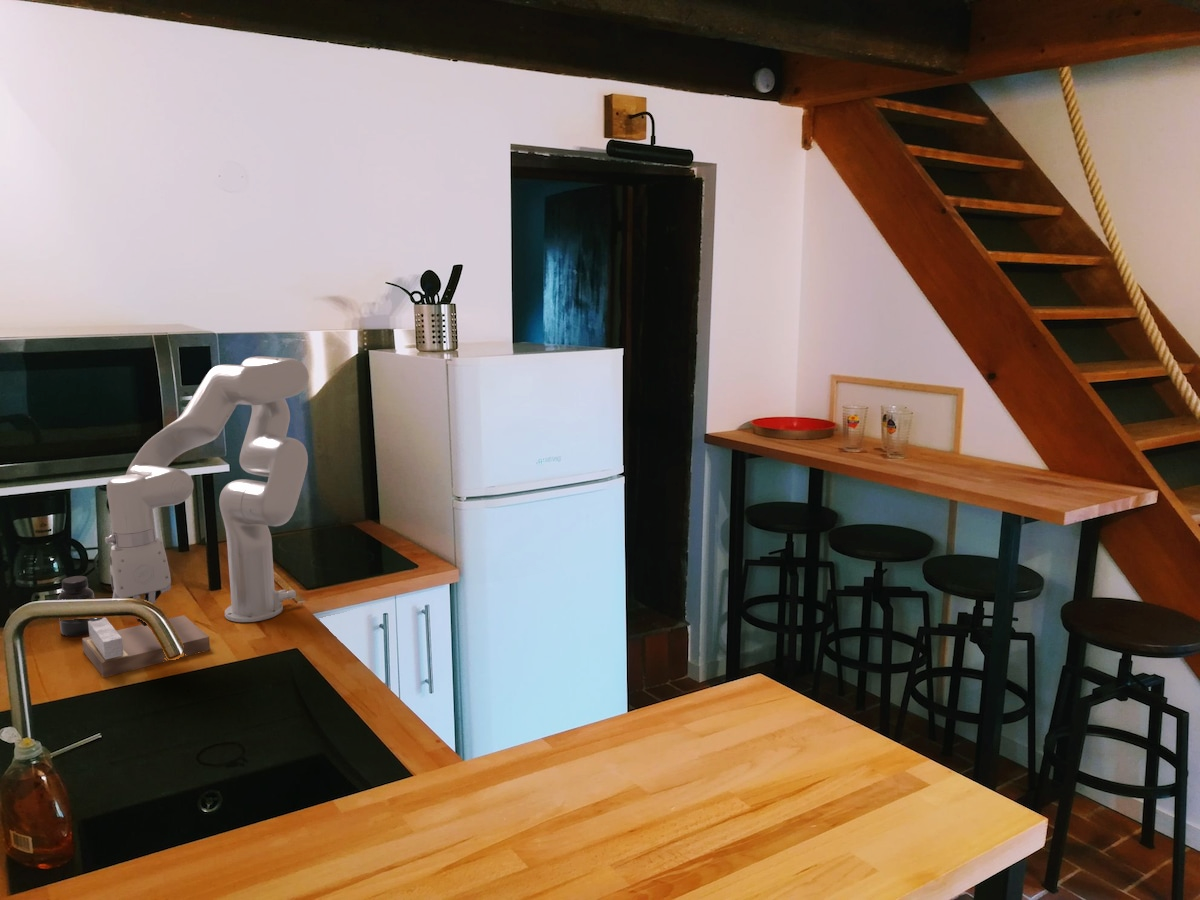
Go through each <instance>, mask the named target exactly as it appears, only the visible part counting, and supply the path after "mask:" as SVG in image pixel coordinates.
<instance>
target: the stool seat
mask: <svg viewBox="0 0 1200 900" xmlns="http://www.w3.org/2000/svg"><path fill="white" fill-rule="evenodd" d="M168 619H169V621H170V623H171V624H172V626H173V628H174V629H175V631H176V632H177V634H178V636H179V637H180V639H181V641H182V643H183V645H184V656H185V654H186V655H189V656H193V655H196V654H195V653H197V654H199V653H198V652H201V653H204V652H203V651H205V652H209V651H211V643H210V636H209V635H208V634H207V633H206V632H205V631H203V630H202V629H201V628H200V627H198V626H197V625H196V624H195V623H194V622H193V621H191V619H189V618H188V617H187V616H186V615H185V614H182V615H178V616H174V617H170V618H168ZM116 631H117V633H118V634H119V635H120V636H121V638H122V644H123V654H124V655H123V656H119V657H115V658H111V659H106V660H105V659H104V657H103V656H102V654H101V653H100V652H99V650H98V649H97V647H96V646H95V645H94V643H93V642H92V640H91V639H90V637H89V636H86V637H82V638H81V640H82V651H83V653H84V654H85V656H86V657H87V658H88V660H89V661H90V662H91V664H92V665H93V666H94V667H95V669H96V670H97V672H99V674H100V675H101V677H103V678H108V677H111V676H114V675H115V676H116V675H119V674H123V673H127V672H130V671H134V670H135V671H136V670H138V669H142V668H146V667H150V666H153V665H157V664H158V665H159V664H162V663H166V662H169V661H171V660H168V659H167V658H166V656H165V654H164V652H163V649H162V647H161V646H160V644H159V642H158V640H157V639H156V637H155V635H154V634H153V632H152V630H151V629H150V628H149V627H148V626H143V625H142V624H139V625H136V626H135V625H134V626H130V627H126V628H122V629H118V630H116ZM208 650H209V651H208ZM192 654H193V655H192ZM185 657H186V656H185ZM164 658H166V659H167V660H168V661H166V660H165V659H164ZM163 661H164V662H163Z"/></svg>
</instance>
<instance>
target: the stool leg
mask: <svg viewBox="0 0 1200 900" xmlns="http://www.w3.org/2000/svg"><path fill="white" fill-rule="evenodd" d="M89 620H90V621H88V627H89V634H88V635H89V636H88V637H90V639H91V640H92V642H93V643H94V645H95V646H96V647H97V649H98V650H99V652H100V653H101V654H102V656H103V657H104V659H105V660H106V659H111V658H115V657H119V656H123V655H124V654H123V644H122V638H121V636H120V635H119V634H118V633H117V630H116V629H115V627H114V626H113V625H112V623H110V621H109V620H108V618H107V617H103V618H90V619H89Z"/></svg>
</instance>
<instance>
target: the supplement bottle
mask: <svg viewBox="0 0 1200 900" xmlns="http://www.w3.org/2000/svg"><path fill="white" fill-rule="evenodd" d="M88 581H89V580H88V577H87V576H85V575H84V576H83V575H75V576H68V577H66V578H63V579H62V581H61V589H62V591H61V592H60V593H59V595H57V600H58V599H86V598H94V599H95V593H94V591H93V590H92V589H91V588H89V583H88ZM88 621H90V620H89V619H74V620H61V621H60V620H59V626H60V627H59V628H60V633H61V634H62V635H63V636H64V635H65V637H70V636H74V637H81V636H80V635H82V636H85V634H86V635H89V634H88V633H89V627H88Z"/></svg>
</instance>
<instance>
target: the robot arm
mask: <svg viewBox="0 0 1200 900" xmlns="http://www.w3.org/2000/svg"><path fill="white" fill-rule="evenodd" d="M309 377H310V376H309V371H308V369H307V366H305V364H304V363H303V362H301V360H299V359H296V358H292V357H280V356H279V357H278V356H263V355H260V356H259V355H256V356H249V357H247V358H245V359H244V360H243V361H242V362H241V364H230V363H228V364H225V363H224V364H218V365H215V366H213V367H212V368H211V369H209V371H208V372H207V374H205V376H204V377H203V379H202V380H201V383H200V384H199V386H198V387H197V388H196V390H195V392H194V394H193V395H192V397H191V398H190V400H189V402H188V403H187V404H186V406H185V408H184V410H183V411H182V412H181V414H180V415H179V416H178V417H177V419H176V420H174V421H172V422H171V423H169V424H167V425H166V426H165V427H164V428H162V429H161V430H159V432H157V433H156V434H154V435H153V436H151V438H149V439H148V440H147V441H146V442H145V443H144V444H143V446H142V447H140V449H139V450H138V452H137V453H136V455H135V456H134V458H133V459H132V461H131V463H130V464H129V466H128V468H127V470H126V473H125V474H124V475H119V476H115V477H112V478H111V479H109V480H108V482H107V484H106V494H107V502H108V507H109V508H108V510H109V516H110V524H111V529H112V530H111V534H110V535H109V536H105V537H104V541H105V544H106V545H108V544H110V545H111V544H112V546H111V548H110V555H109V556H110V558H109V573H110V574H109V575H110V584H111V590H112V592H113V593H112V598H136V599H141V595H144V600H147V601H149V602H151V603H153V604H154V605H155V603H156V601H157V599H158V598H159V597H160V596H161V594H164V593H166V592H168V591H170V590H171V589H172V585H171V583H172V577H171V571H170V567H169V566H170V565H169V563H168V557H167V554H166V549H165V546H164V544H163V541H162V539H160V538H158V537H157V532H156V531H157V530H156V524H155V517H154V516H155V515H154V509H155V508H161V507H162V508H163V507H170V506H171V507H172V506H176V505H179V504H182V503H183V502H185V501H186V500H188V499H189V498H190V497H191V495H192V493H193V490H194V481H193V479H192V477H191V476H190V475H189V474H188V473H187V472H186V471H184V470H182V469H179V468H174V467H169V465H170V464H171V463H172V462H173V461H174V460H175V459H176V458H178V457H179V456H181V455H182V454H184V453H185V452H187V451H190V450H192V449H193V450H194V449H195V448H197V447H200V446H203V445H206V444H208V443H211V442H213V441H215V440H216V439H217V438H218V437H220V434H221V432H223V429H224V427H225V426H226V424H227V422H228V421H229V419H230V417H231V416H232V415H233V412H234V411H235V409H236V407H237V406H238V405H243V406H244V405H246V406H251V413H250V414H251V415H250V419H249V423H248V426H247V429H246V433H245V435H244V440H243V443H242V445H241V450H240V453H239V460H238V461H239V465H240V467H241V469H242V470H243V471H245V473H248V474H251V475H254V476H255V475H256V476H259V477H265V478H266V477H267V482H266V481H262V480H255V479H254V480H253V479H245V478H244V479H235V480H233V481H231V482H228V483H227V484H226V485H225V486H224V487H223V488H222V490H220V491H221V492H220V495H219V499H218V503H219V510H220V513H221V518H222V521H223V525H224V528H225V535H226V547H227V560H228V572H229V573H228V576H229V577H228V578H229V586H230V588H229V589H230V602H231V603H230V604H231V605H229V606H227V608H225V610H224V617H225V618H226V619H227V620H229V621H231V622H236V623H252V622H253V623H254V622H261V621H266V620H269V619H272V618H274V617H276V616H279V614H281V613H282V612H283V610H284V608H283V603H282V602H284V601H285V600H291V599H295V598H296V597H297V593H296V591H295V589H291V590H286V589H279V590H276V589H275V576H274V574H275V573H274V561H273V560H274V558H273V541H272V534H271V532H270V528H269V527H281V526H283V525H285V524H286V523H288V522H289V521H290V519H291V518H292V517H293V515H294V514H295V511H296V508H297V505H298V501H299V499H300V495H301V491H302V488H303V484H304V482H305V477H306V473H307V471H308V465H309V456H308V451H307V449H306V447H305V445H304V443H303V442H301V440H298V439H297V438H293V437H288V436H287V434H288V430H289V425H290V421H291V412H290V408H289V405H288V402H287V400H286V399H289V398H293V397H295V396H297V395H300V394H301V393H302V392H304V391H305V389H306V387H307V385H308V382H309ZM141 600H142V599H141ZM136 621H137V622H138V623H140V625H143V626H147V624H146V623H145V622H143V621H142V620H140V619H137V618H136Z"/></svg>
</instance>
